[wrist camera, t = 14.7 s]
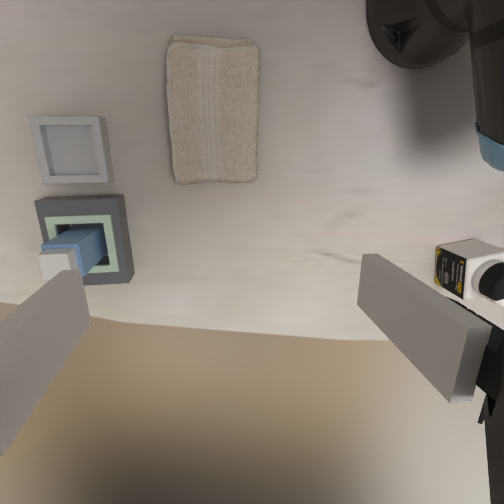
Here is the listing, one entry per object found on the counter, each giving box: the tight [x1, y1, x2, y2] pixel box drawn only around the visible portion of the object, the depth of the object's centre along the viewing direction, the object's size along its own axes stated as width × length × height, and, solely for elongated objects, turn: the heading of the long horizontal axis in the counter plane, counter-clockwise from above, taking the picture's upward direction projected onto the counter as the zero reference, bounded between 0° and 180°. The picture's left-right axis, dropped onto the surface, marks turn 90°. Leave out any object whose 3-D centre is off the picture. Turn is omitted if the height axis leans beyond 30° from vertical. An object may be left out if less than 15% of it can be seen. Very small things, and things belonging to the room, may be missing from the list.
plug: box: [38, 223, 108, 281], centre depth 40 cm, size 4×4×12 cm
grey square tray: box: [28, 116, 114, 184], centre depth 40 cm, size 8×8×2 cm
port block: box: [34, 195, 135, 285], centre depth 43 cm, size 12×10×4 cm
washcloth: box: [166, 34, 260, 184], centre depth 41 cm, size 12×18×3 cm, turn 0°
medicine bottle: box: [435, 239, 504, 307], centre depth 49 cm, size 7×7×12 cm
